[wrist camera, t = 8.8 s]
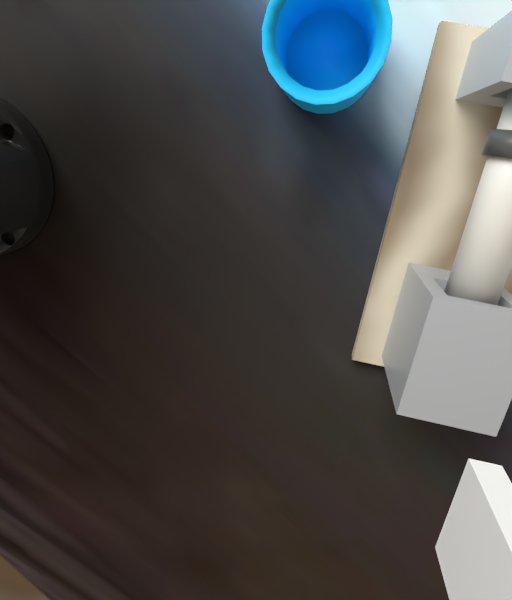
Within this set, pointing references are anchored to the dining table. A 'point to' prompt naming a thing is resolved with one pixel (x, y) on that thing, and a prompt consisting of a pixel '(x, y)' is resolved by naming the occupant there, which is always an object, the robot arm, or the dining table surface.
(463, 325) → the sleeve
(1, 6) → the dining table surface
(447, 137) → the mount board
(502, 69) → the socket
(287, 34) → the mug
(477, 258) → the tube
